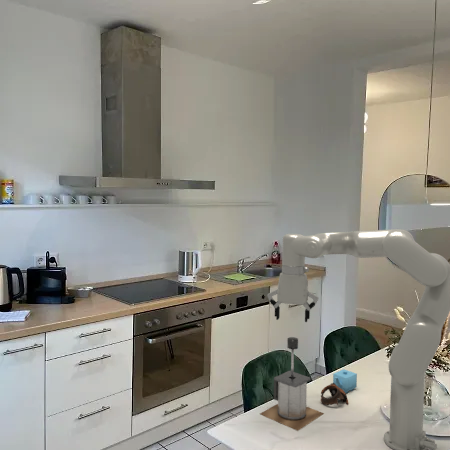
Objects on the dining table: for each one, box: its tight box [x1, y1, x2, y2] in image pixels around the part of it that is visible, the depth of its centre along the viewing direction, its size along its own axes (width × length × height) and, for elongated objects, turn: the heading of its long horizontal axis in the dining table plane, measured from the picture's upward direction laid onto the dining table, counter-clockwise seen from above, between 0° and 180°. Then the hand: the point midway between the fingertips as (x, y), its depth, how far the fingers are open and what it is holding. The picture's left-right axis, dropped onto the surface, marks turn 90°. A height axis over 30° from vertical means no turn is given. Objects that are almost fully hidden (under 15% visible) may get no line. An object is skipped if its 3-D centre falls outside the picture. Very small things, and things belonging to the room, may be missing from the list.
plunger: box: [286, 336, 299, 379], centre depth 154 cm, size 7×7×16 cm
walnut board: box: [259, 403, 325, 432], centre depth 155 cm, size 16×16×1 cm
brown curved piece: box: [320, 382, 349, 406], centre depth 166 cm, size 12×10×8 cm
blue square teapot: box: [332, 369, 358, 394], centre depth 177 cm, size 12×6×8 cm, turn 131°
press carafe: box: [273, 370, 311, 421], centre depth 156 cm, size 12×10×13 cm
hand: (291, 319), depth 153 cm, fingers open, 9 cm apart
